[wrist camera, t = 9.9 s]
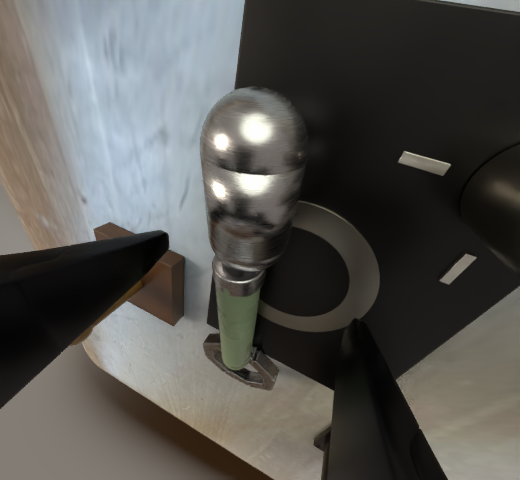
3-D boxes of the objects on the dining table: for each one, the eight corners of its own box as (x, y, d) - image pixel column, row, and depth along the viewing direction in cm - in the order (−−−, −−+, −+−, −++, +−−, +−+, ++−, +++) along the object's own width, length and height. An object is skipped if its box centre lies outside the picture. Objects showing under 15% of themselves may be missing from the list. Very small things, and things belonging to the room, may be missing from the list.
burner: (335, 349, 13) (334, 353, 12) (216, 292, 14) (215, 294, 14) (422, 241, 8) (423, 244, 8) (233, 174, 10) (231, 175, 9)
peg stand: (183, 315, 22) (113, 395, 16) (123, 283, 24) (37, 344, 17) (184, 256, 18) (86, 337, 11) (109, 221, 19) (-14, 274, 13)
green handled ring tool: (278, 368, 20) (264, 412, 17) (220, 339, 21) (199, 375, 19) (387, 98, 6) (392, 126, 3) (194, 70, 7) (99, 74, 5)
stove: (384, 381, 16) (388, 422, 14) (222, 301, 18) (205, 325, 16) (764, 80, 6) (1023, 57, 3) (275, -2, 8) (246, -43, 6)
